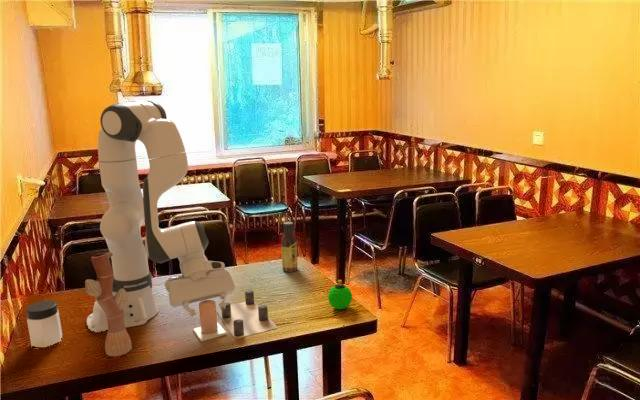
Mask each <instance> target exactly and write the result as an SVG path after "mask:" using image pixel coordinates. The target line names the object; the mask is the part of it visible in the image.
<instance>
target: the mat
mask: <svg viewBox="0 0 640 400" xmlns="http://www.w3.org/2000/svg"><path fill="white" fill-rule="evenodd" d="M217 327H218V330H217V331H216V332H215V333H213V334H203V333H202V332H201V326H198V327H195V328H192V329H193V330H192V331H193V333H194V334H195V335H196V337H197V338H198V340H199V341H200V342H206V341H209V340H212V339H215V338H220V337H223V336H227V331H226V329H224V328H223V327H222V325H221V324H220V323H219V322H218V321H217Z"/></svg>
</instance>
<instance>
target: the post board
mask: <svg viewBox="0 0 640 400" xmlns="http://www.w3.org/2000/svg"><path fill="white" fill-rule="evenodd" d="M244 298H245V301H243V302H237V303H233V304H232V303H230V302H225V305H226V308H225V309H221V310H220V307H216V314H218V316H219V318H220V319H221V321H222V322H223V324H224V325H225V326H226V328H227V330H228V331H229V333H230V334H231V335H232V337H233V339H234V340H237V339H241V338H244V337H248V336H253V335H257V334H261V333H265V332H269V331H273V330H277V329H279V327H278V326H277V325H276V323H274V321H272V319H271V318H270V317H269V316H268V315H269V312H268V309H269V308H268V305H264V304H262V305H259V304H258V303H257V302H256V301H255V292H254V290H252V289H250V290H249V289H248V290H245V292H244Z"/></svg>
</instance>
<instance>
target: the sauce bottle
mask: <svg viewBox="0 0 640 400" xmlns="http://www.w3.org/2000/svg"><path fill="white" fill-rule="evenodd" d="M282 226H283V235H282V237H281V264H282V265H281V266H282V270H283V271H284V272H286V273H287V272H288V273H292V272H295V271H297V270H298V243H297V238H296V236H295V234H294V222H292V221H285V222H283V223H282Z"/></svg>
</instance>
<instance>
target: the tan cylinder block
mask: <svg viewBox="0 0 640 400" xmlns="http://www.w3.org/2000/svg"><path fill="white" fill-rule="evenodd" d="M216 308H217V307H216V301H215V300H212V299H207V300H203V301H199V303H198V311H199V312H198V313H199V320H200V321H199V323H200V327H201V332H202V333H203V334H213V333H215V332H216V331H217V330H218V327H217V322H218V319H217V312H216Z"/></svg>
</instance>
